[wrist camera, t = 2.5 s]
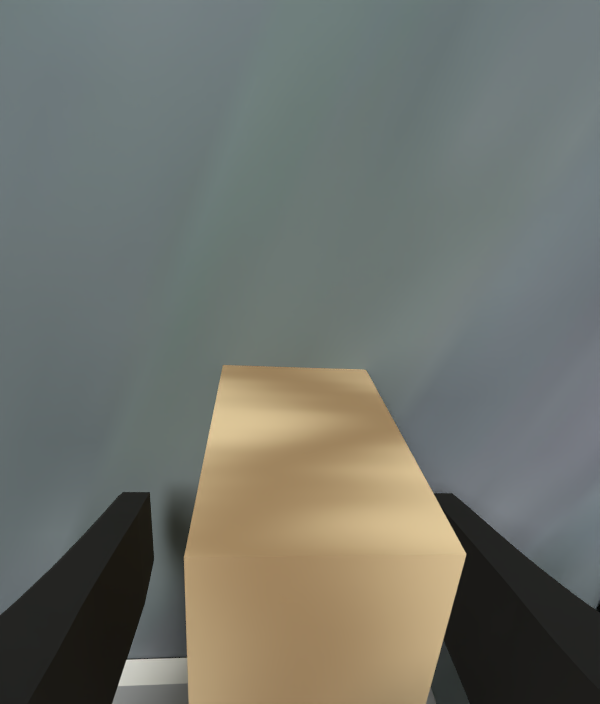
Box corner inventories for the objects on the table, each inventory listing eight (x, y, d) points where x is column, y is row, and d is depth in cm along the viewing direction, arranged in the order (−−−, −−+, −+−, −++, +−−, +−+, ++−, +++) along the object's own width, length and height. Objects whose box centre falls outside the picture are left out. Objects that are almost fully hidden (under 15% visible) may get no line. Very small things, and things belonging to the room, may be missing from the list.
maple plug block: (365, 368, 11) (466, 554, 6) (337, 573, 14) (389, 839, 8) (223, 364, 11) (184, 557, 5) (221, 575, 13) (193, 855, 8)
